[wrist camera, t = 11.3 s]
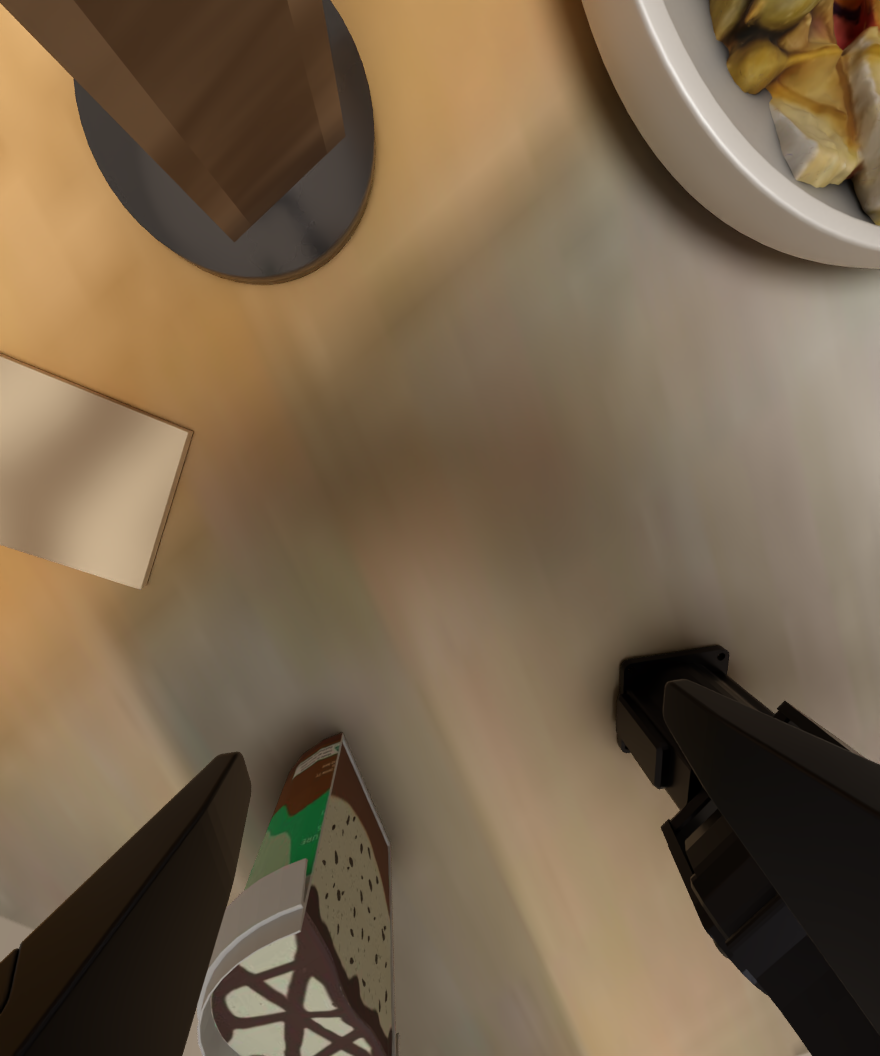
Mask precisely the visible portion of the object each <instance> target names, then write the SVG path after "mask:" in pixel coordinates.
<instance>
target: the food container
mask: <svg viewBox="0 0 880 1056" xmlns="http://www.w3.org/2000/svg"><path fill="white" fill-rule="evenodd" d="M197 1016H198V1021H199V1022H198V1026H197V1028H198V1029H197V1030H198V1044H199V1047H200V1050H201V1053H202V1056H399V1039H400V1035H399V1033H397V1034H396V1028H395V989H394V950H393V911H392V872H391V844H390V841H389V839H388V837H387V834H386V832H385V830H384V827H383V825H382V823H381V820H380V818H379V816H378V813H377V811H376V809H375V806H374V804H373V802H372V799H371V797H370V795H369V792H368V790H367V788H366V786H365V783H364V781H363V779H362V776H361V774H360V772H359V769H358V767H357V765H356V762H355V760H354V758H353V755H352V753H351V751H350V748H349V746H348V744H347V741H346V739H345V737H344V734H343V732H342V733H339V734H337V735H334V736H332V737H329V738H326V739H324V740H322V741H321V742H320V743H318V744H317V745H315V746H314V747H312V748H311V749H310V750H308V751H307V752H305V753H304V754H303V755H302V756H301V758H300V759H299V760H298V761H297V763H296V764H295V765H294V767H293V768H292V769H291V771H290V772H289V774H288V777H287V780H286V782H285V785H284V787H283V790H282V793H281V795H280V798H279V801H278V803H277V806H276V808H275V811H274V814H273V816H272V819H271V821H270V824H269V827H268V829H267V832H266V834H265V837H264V840H263V842H262V845H261V848H260V850H259V853H258V855H257V858H256V861H255V863H254V866H253V868H252V871H251V874H250V876H249V879H248V882H247V884H246V887H245V889H244V891H243V892H242V893H241V894H240V895H239V896H238V897H237V898H236V899H235V900H234V901H233V902H232V903H231V904H230V905H229V906H228V907H227V908H226V910H225V913H224V917H223V920H222V923H221V927H220V930H219V933H218V937H217V940H216V944H215V947H214V950H213V954H212V957H211V960H210V964H209V967H208V971H207V974H206V977H205V981H204V984H203V987H202V991H201V994H200V998H199V1001H198V1004H197Z"/></svg>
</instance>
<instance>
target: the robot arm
mask: <svg viewBox="0 0 880 1056" xmlns="http://www.w3.org/2000/svg"><path fill="white" fill-rule="evenodd" d="M728 661H729V652H728V651H727V650H726V649H724V648H723V647H721V646H712V647H705V648H699V649H692V650H686V651H679V652H673V653H666V654H660V655H653V656H647V657H640V658H634V659H628V660H625V661H624V662H623V663H622V664H621V668H620V694H619V696H618V698H617V720H616V731H617V733H618V745H619V747H620V749H621V750H622V751H623V752H625V753H631V754H632V755H633V756H634V758H635V759H636V761H637V762H638V764H639V765H640V767H641V768H642V770H643V771H644V773H645V774H646V775H647V777H648V778H649V780H650V781H651V783H652V784H653V785H654V786H655V787H656V788H657V789H663V788H665V790H666V791H667V793H668V794H669V795H670V797H671V798H672V800H673V801H674V802H675V804H676V805H677V807H678V808H679V809H680V811H679V812H678V813H677V814H676V815H675V816H674V817H673V818H672V819H671V820H669V819H668V820H667V821H666V822H665V823H664V824H663V825H662V826H661V829H662V832H663V834H664V836H665V839H666V841H667V843H668V847H669V849H670V851H671V854H672V856H673V858H674V861H675V863H676V865H677V867H678V870H679V872H680V874H681V877H682V879H683V881H684V884H685V886H686V888H687V890H688V893H689V895H690V897H691V900H692V902H693V904H694V906H695V909H696V911H697V913H698V916H699V918H700V920H701V923H702V925H703V927H704V929H705V930H706V932H707V933H708V934H709V935H710V937H711V938H712V939H713V941H714V943H715V945H716V947H717V948H718V950H719V951H720V952H721V953H722V954H723V955H724V956H725V957H726V958H728V959H730V960H731V961H732V963H733V964H734V965H735V966H736V967H737V968H738V969H739V970H740V972H741V973H742V974H743V975H744V976H745V977H746V978H747V979H748V980H749V981H750V982H751V983H752V984H753V985H755V986H756V987H757V988H758V989H760V990H761V991H762V992H763V993H765V994H766V995H768V996H769V997H770V998H771V1000H772V1001H773V1002H774V1003H775V1005H776V1006H777V1007H778V1008H779V1010H780V1011H781V1012H782V1014H783V1015H784V1016H785V1018H786V1019H787V1021H788V1022H789V1023H790V1025H791V1026H792V1028H793V1029H794V1030H795V1032H796V1033H797V1035H798V1036H799V1037H800V1039H801V1040H802V1042H803V1043H804V1045H805V1046H806V1047H807V1049H808V1050H809V1052H810V1053H811V1055H812V1056H880V765H879V764H877V763H875V762H873V761H870V760H868V759H866V758H864V757H863V756H862V755H860V754H859V753H858V752H856V751H855V750H854V749H852V748H851V747H850V746H848V745H847V744H846V743H844V742H843V741H841V740H840V739H839V738H837V737H836V736H834V735H833V734H832V733H830V732H829V731H827V730H826V729H824V728H823V727H822V726H820V725H819V724H817V723H816V722H815V721H813V720H812V719H810V718H809V717H807V716H806V715H805V714H803V713H802V712H800V711H799V710H798V709H796V708H795V707H793V706H792V705H790V704H789V703H788V702H786V701H784V702H783V703H782V704H781V705H780V706H779V707H778V708H777V709H778V710H779V711H778V712H777V713H776V714H774V713H773V712H772V711H771V710H769V709H768V708H767V707H766V706H764V705H763V704H762V703H761V702H759V701H758V700H757V699H756V698H754V697H753V696H752V695H751V694H750V693H748V692H747V691H746V690H745V689H743V688H742V687H741V686H740V685H738V684H737V683H736V682H735V681H733V680H732V679H731V678H730V677H729V676H727V670H728ZM631 667H632V669H631V670H629V669H630V668H631ZM250 797H251V781H250V778H249V774H248V771H247V768H246V764H245V761H244V758H243V755H242V754H241V753H240V752H231V753H225V754H220V755H218V756H217V757H215V758H214V759H213V760H212V761H211V762H210V763H209V764H208V765H207V766H206V767H205V768H204V769H203V770H202V771H201V772H200V773H199V774H197V775H196V776H195V777H194V778H193V779H192V780H191V781H190V782H189V783H188V784H187V785H186V786H185V787H184V788H183V789H182V790H181V791H180V792H179V793H178V794H177V795H175V796H174V797H173V798H172V799H171V800H170V801H169V802H168V803H167V804H166V805H165V806H164V807H163V808H162V809H161V810H160V811H159V812H158V813H157V814H156V815H155V816H153V817H152V818H151V819H150V820H149V821H148V822H147V823H146V824H145V825H144V826H143V827H142V828H141V829H140V830H139V831H138V832H137V833H136V834H135V835H134V836H133V837H131V838H130V839H129V840H128V841H127V842H126V843H125V844H124V845H123V846H122V847H121V848H120V849H119V850H118V851H117V852H116V853H115V854H114V855H113V856H112V857H111V858H109V859H108V860H107V861H106V862H105V863H104V864H103V865H102V866H101V867H100V868H99V869H98V870H97V871H96V872H95V873H94V874H93V875H92V876H91V877H90V878H89V879H87V880H86V881H85V882H84V883H83V884H82V885H81V886H80V887H79V888H78V889H77V890H76V891H75V892H74V893H73V894H72V895H71V896H70V897H69V898H68V899H67V900H65V901H64V902H63V903H62V904H61V905H60V906H59V907H58V908H57V909H56V910H55V911H54V912H53V913H52V914H51V915H50V916H49V917H48V918H47V919H46V920H45V921H43V922H42V923H41V924H40V925H39V926H38V927H37V928H36V929H35V930H34V931H33V932H32V933H31V934H30V935H29V936H28V937H27V938H26V939H25V940H24V941H22V943H21V944H20V947H19V949H14V950H13V951H12V952H11V953H10V954H9V955H8V956H7V957H6V958H5V959H3V961H1V962H0V1056H182V1055H183V1051H184V1048H185V1045H186V1041H187V1038H188V1035H189V1031H190V1028H191V1024H192V1021H193V1018H194V1014H195V1011H196V1008H197V1004H198V1001H199V998H200V994H201V991H202V987H203V984H204V981H205V977H206V974H207V971H208V967H209V964H210V960H211V957H212V954H213V950H214V947H215V944H216V940H217V937H218V933H219V930H220V927H221V923H222V920H223V917H224V913H225V910H226V907H227V903H228V900H229V896H230V892H231V889H232V885H233V881H234V877H235V872H236V867H237V862H238V857H239V852H240V847H241V842H242V837H243V832H244V827H245V822H246V817H247V812H248V807H249V802H250Z"/></svg>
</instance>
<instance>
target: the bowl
mask: <svg viewBox="0 0 880 1056" xmlns="http://www.w3.org/2000/svg"><path fill="white" fill-rule="evenodd" d="M582 4H583V7H584V10H585V13H586V16H587V19H588V22H589V25H590V28H591V31H592V34H593V37H594V39H595V42H596V45H597V47H598V50H599V52H600V55H601V58H602V60H603V63H604V65H605V67H606V69H607V71H608V74H609V76H610V78H611V80H612V82H613V85H614V87H615V89H616V91H617V93H618V95H619V97H620V99H621V100H622V102H623V104H624V106H625V108H626V110H627V112H628V114H629V115H630V117H631V119H632V120H633V122H634V124H635V125H636V127H637V128H638V130H639V132H640V133H641V135H642V137H643V138H644V139H645V141H646V142H647V144H648V145H649V146H650V148H651V149H652V151H653V152H654V154H655V155H656V156H657V158H658V159H659V160H660V161H661V163H662V164H663V165H664V166H665V167H666V169H667V170H668V171H669V172H670V174H671V175H672V176H673V177H674V178H675V179H676V180H677V181H678V182H679V183H680V184H681V185H682V187H683V188H684V189H685V190H686V191H687V192H688V193H689V194H690V195H691V196H693V197H694V198H695V199H696V200H697V201H698V202H699V203H700V204H701V205H702V206H704V207H705V208H706V209H707V210H709V211H710V212H711V213H712V214H714V215H715V216H716V217H718V218H719V219H720V220H722V221H723V222H725V223H726V224H728V225H729V226H731V227H732V228H734V229H736V230H737V231H739V232H740V233H742V234H744V235H746V236H748V237H750V238H752V239H754V240H755V241H757V242H759V243H761V244H763V245H766V246H768V247H771V248H773V249H775V250H778V251H780V252H783V253H786V254H789V255H792V256H795V257H799V258H802V259H806V260H810V261H815V262H819V263H824V264H829V265H837V266H844V267H853V268H872V269H880V0H582Z"/></svg>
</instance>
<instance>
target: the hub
mask: <svg viewBox="0 0 880 1056" xmlns="http://www.w3.org/2000/svg"><path fill="white" fill-rule="evenodd" d="M322 3H323V9H324V15H325V21H326V26H327V32H328V38H329V44H330V49H331V55H332V61H333V67H334V72H335V78H336V84H337V89H338V95H339V101H340V107H341V112H342V118H343V124H344V130H345V135H346V136H345V137H344V138H343V139H342V140H341V141H340V142H339V143H338V144H337V145H336V146H335V147H334V148H333V149H332V150H331V151H330V152H329V153H328V154H327V155H326V156H325V157H324V158H322V159H321V160H320V161H319V162H318V163H317V164H316V165H315V166H314V167H313V168H312V169H311V170H310V171H309V172H308V173H307V174H306V175H305V176H304V177H303V178H302V179H300V180H299V181H298V182H297V183H296V184H295V185H294V186H293V187H292V188H291V189H290V190H289V191H288V192H287V193H286V194H285V195H284V196H283V197H282V198H281V199H280V200H278V201H277V202H276V203H275V204H274V205H273V206H272V207H271V208H270V209H269V210H268V211H267V212H266V213H265V214H264V215H263V216H262V217H261V218H260V219H259V220H258V221H256V222H255V223H254V224H253V225H252V226H251V227H250V228H249V229H248V230H247V231H246V232H245V233H244V234H243V235H242V236H241V237H240V238H239V239H238V240H237V241H236V242H233V241H232V240H231V239H230V238H229V237H228V236H227V235H226V233H225V232H224V231H223V230H222V229H221V228H220V227H219V226H218V225H217V224H216V223H215V222H214V221H213V220H212V219H211V218H210V217H209V216H208V215H207V214H206V213H205V212H204V211H203V210H202V209H201V208H200V207H199V206H198V205H197V204H196V203H195V202H194V201H193V200H192V199H191V198H190V197H189V196H188V195H187V194H186V193H185V192H184V190H183V189H182V188H181V187H180V186H179V185H178V184H177V183H176V182H175V181H174V180H173V179H172V178H171V177H170V176H169V175H168V174H167V173H166V172H165V171H164V170H163V169H162V168H161V167H160V166H159V165H158V164H157V163H156V162H155V161H154V160H153V159H152V158H151V157H150V156H149V155H148V154H147V153H146V152H145V151H144V150H143V149H142V147H141V146H140V145H139V144H138V143H137V142H136V141H135V140H134V139H133V138H132V137H131V136H130V135H129V134H128V133H127V132H126V131H125V130H124V129H123V128H122V127H121V126H120V125H119V124H118V123H117V122H116V121H115V120H114V119H113V118H112V117H111V116H110V115H109V114H108V113H107V112H106V111H105V110H104V109H103V108H102V107H101V105H100V104H99V103H98V102H97V101H96V100H95V99H94V98H93V97H92V96H91V95H90V94H89V93H88V92H87V91H86V90H85V89H84V88H83V87H82V86H81V85H80V84H79V83H78V82H77V81H76V80H75V79H74V87H75V96H76V102H77V106H78V111H79V115H80V120H81V124H82V127H83V130H84V133H85V136H86V139H87V142H88V145H89V147H90V149H91V151H92V154H93V156H94V158H95V160H96V162H97V165H98V167H99V169H100V170H101V172H102V174H103V176H104V177H105V179H106V181H107V182H108V184H109V186H110V188H111V189H112V191H113V192H114V193H115V195H116V196H117V197H118V199H119V200H120V202H121V203H122V204H123V206H124V207H125V208H126V209H127V210H128V211H129V213H130V214H131V215H132V216H133V217H134V218H135V219H136V220H137V222H138V223H139V224H140V225H141V226H143V227H144V228H145V229H146V230H147V231H148V232H149V233H150V234H151V235H152V236H154V237H155V238H156V239H157V240H159V241H160V242H161V243H163V244H164V245H165V246H167V247H168V248H170V249H171V250H172V251H174V252H175V253H177V254H178V255H179V256H181V257H182V258H184V259H185V260H187V261H188V262H190V263H192V264H193V265H195V266H197V267H199V268H200V269H202V270H204V271H206V272H209V273H211V274H214V275H216V276H218V277H221V278H224V279H228V280H232V281H235V282H241V283H248V284H276V283H282V282H288V281H291V280H294V279H297V278H301V277H303V276H305V275H307V274H309V273H311V272H313V271H315V270H317V269H318V268H320V267H321V266H323V265H324V264H326V263H327V262H328V261H330V260H331V259H332V258H333V257H334V256H335V255H336V254H337V253H338V252H339V251H340V250H341V249H342V248H343V246H344V245H345V244H346V243H347V241H348V240H349V239H350V238H351V236H352V234H353V233H354V231H355V229H356V228H357V226H358V224H359V223H360V220H361V218H362V216H363V213H364V211H365V209H366V206H367V203H368V199H369V196H370V192H371V188H372V182H373V176H374V169H375V136H374V121H373V108H372V102H371V96H370V90H369V85H368V81H367V78H366V74H365V71H364V67H363V63H362V61H361V58H360V56H359V53H358V51H357V48H356V45H355V43H354V41H353V39H352V37H351V35H350V33H349V31H348V29H347V27H346V25H345V23H344V21H343V19H342V18H341V16H340V14H339V13H338V11H337V10H336V8H335V7H334V5H333V4H332V2H331V1H330V0H322Z"/></svg>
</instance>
